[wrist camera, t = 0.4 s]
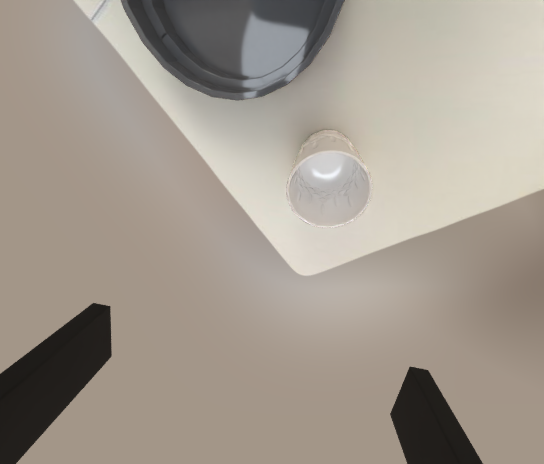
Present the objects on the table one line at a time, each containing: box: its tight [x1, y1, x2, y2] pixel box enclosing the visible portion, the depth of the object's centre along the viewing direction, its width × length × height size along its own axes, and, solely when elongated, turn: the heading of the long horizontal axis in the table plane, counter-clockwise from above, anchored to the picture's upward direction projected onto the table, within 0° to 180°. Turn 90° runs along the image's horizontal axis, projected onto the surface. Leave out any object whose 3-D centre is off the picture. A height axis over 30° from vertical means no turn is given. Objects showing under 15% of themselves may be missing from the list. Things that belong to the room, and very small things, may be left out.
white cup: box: [286, 130, 373, 228], centre depth 29 cm, size 8×8×10 cm
